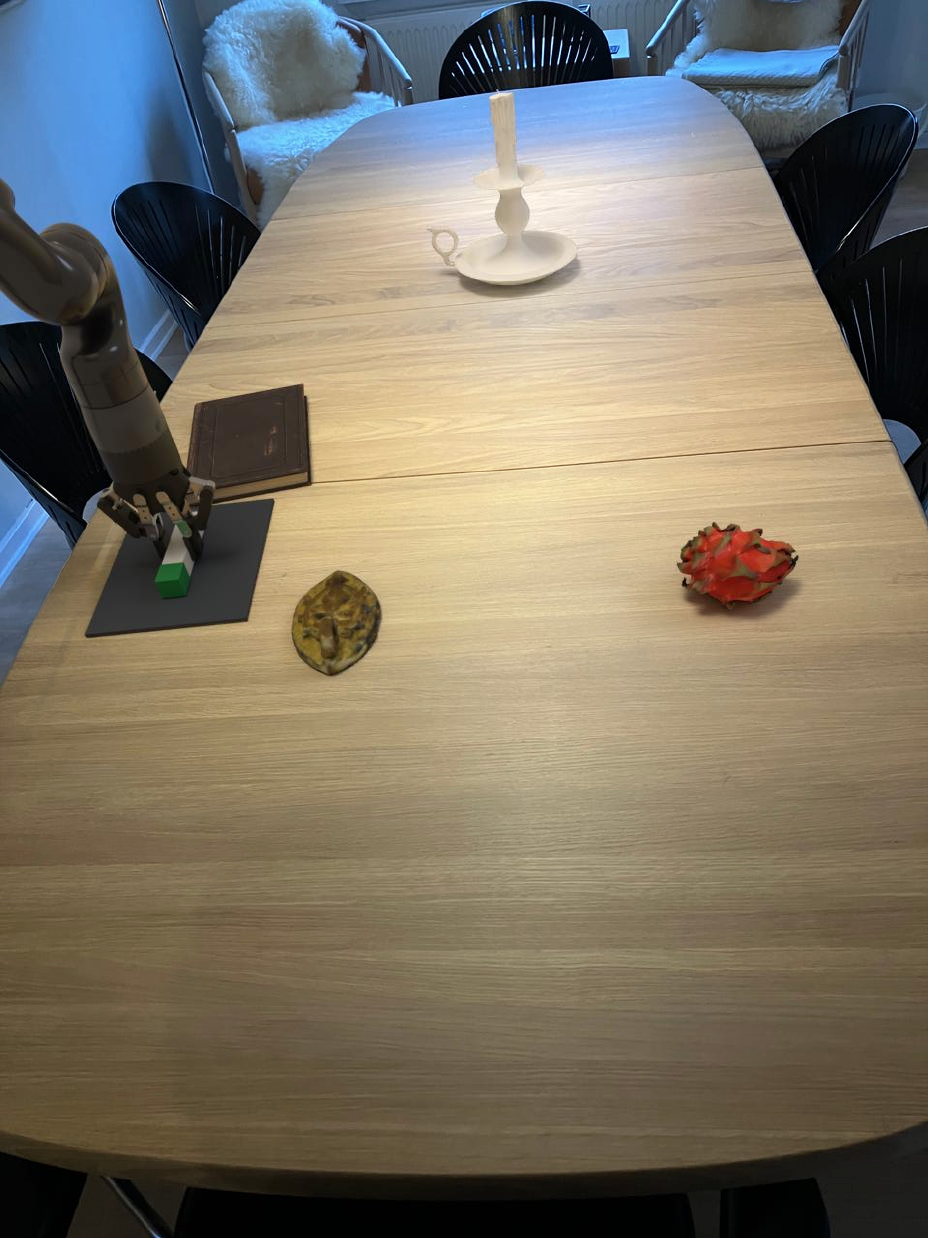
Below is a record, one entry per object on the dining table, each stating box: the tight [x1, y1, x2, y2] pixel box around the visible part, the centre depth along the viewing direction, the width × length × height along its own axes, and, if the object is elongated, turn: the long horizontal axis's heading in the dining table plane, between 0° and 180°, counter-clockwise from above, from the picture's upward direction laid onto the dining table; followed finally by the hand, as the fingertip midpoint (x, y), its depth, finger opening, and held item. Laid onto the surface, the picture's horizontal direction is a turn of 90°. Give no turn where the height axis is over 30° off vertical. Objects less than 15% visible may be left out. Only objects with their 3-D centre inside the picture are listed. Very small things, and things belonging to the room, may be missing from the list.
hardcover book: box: [185, 383, 312, 507], centre depth 124 cm, size 16×23×2 cm
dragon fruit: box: [675, 521, 800, 610], centre depth 91 cm, size 8×8×12 cm
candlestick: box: [426, 89, 579, 286], centre depth 147 cm, size 21×25×28 cm
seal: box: [291, 570, 381, 675], centre depth 96 cm, size 9×5×15 cm
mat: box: [84, 497, 275, 638], centre depth 108 cm, size 18×22×1 cm
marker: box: [155, 509, 204, 598], centre depth 106 cm, size 13×3×2 cm, turn 1°
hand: (184, 557), depth 107 cm, fingers closed on marker, 2 cm apart
